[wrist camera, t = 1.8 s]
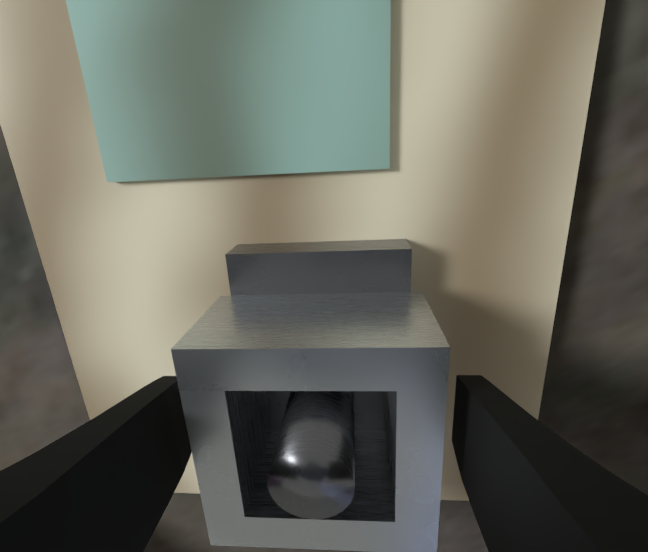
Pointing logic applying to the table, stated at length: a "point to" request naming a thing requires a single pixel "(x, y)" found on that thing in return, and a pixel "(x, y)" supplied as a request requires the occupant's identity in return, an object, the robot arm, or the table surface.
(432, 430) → the square hollow frame
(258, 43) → the board
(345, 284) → the peg base
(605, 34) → the table surface
